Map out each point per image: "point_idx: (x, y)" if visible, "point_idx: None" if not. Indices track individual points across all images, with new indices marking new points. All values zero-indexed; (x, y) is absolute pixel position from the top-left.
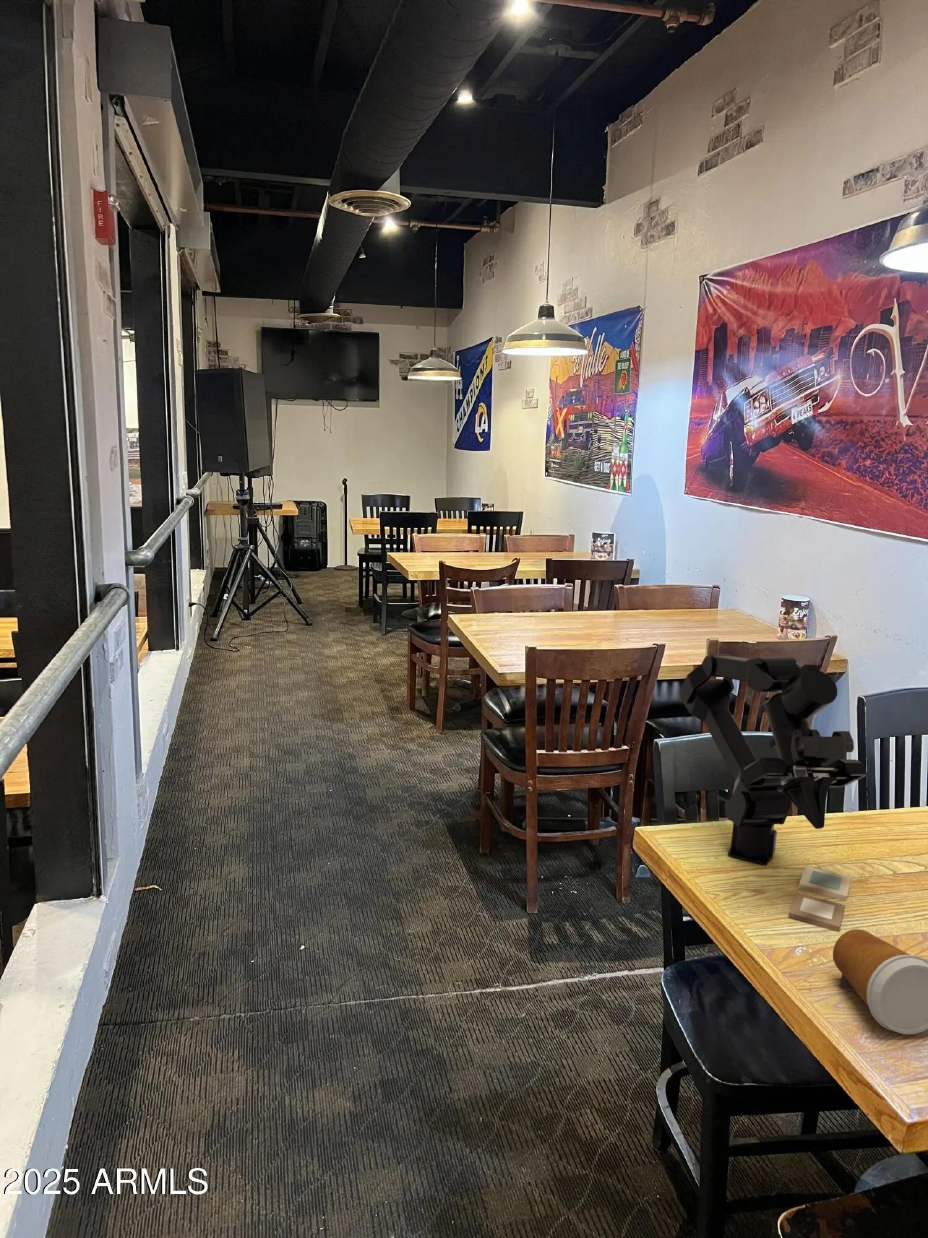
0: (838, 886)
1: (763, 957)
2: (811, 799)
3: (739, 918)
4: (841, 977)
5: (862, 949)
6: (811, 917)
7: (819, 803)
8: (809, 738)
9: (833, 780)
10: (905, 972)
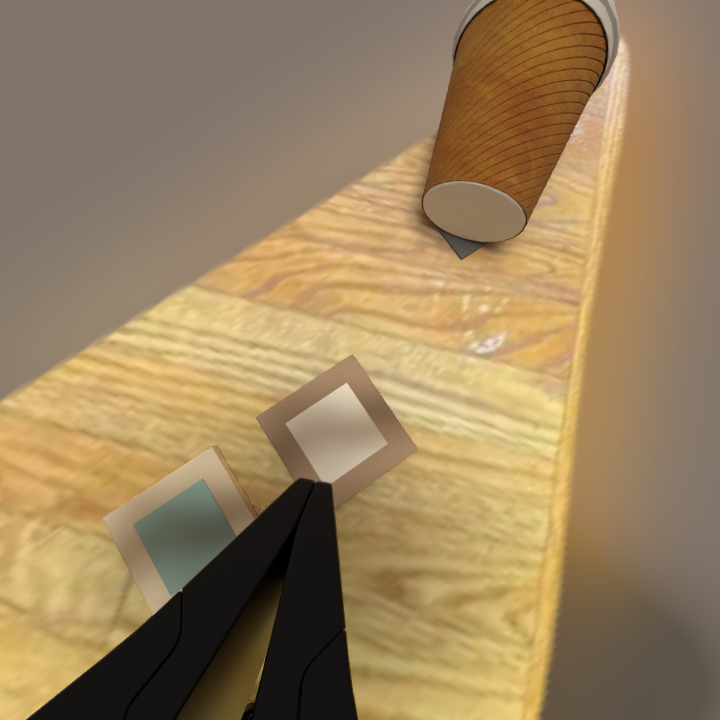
0: (186, 492)
1: (579, 356)
2: (318, 680)
3: (529, 497)
4: (485, 242)
5: (561, 113)
6: (383, 409)
7: (238, 616)
8: None
9: None
10: None
